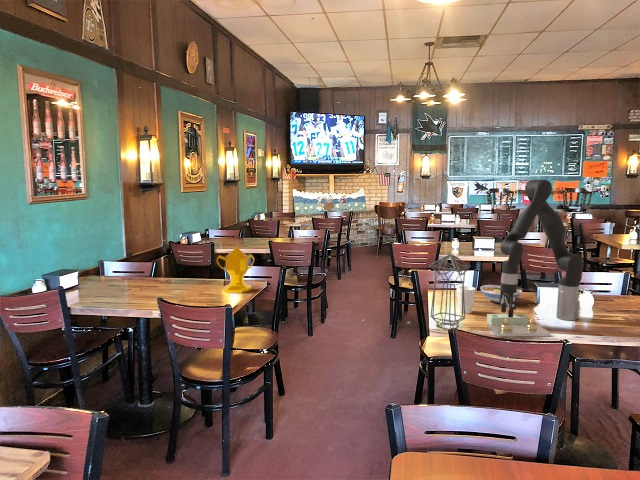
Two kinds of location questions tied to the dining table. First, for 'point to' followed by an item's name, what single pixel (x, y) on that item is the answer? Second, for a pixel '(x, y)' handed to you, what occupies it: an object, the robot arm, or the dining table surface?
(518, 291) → the ramen bowl
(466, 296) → the foam cup
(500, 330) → the board with brass pegs
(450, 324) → the geometric lantern
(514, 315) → the bar
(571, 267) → the robot arm
